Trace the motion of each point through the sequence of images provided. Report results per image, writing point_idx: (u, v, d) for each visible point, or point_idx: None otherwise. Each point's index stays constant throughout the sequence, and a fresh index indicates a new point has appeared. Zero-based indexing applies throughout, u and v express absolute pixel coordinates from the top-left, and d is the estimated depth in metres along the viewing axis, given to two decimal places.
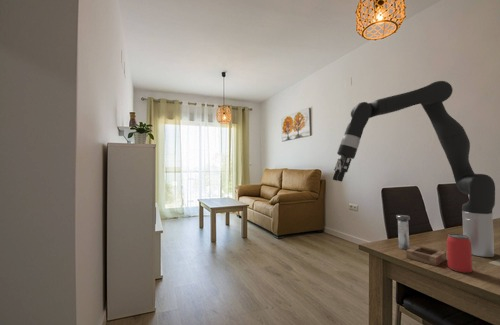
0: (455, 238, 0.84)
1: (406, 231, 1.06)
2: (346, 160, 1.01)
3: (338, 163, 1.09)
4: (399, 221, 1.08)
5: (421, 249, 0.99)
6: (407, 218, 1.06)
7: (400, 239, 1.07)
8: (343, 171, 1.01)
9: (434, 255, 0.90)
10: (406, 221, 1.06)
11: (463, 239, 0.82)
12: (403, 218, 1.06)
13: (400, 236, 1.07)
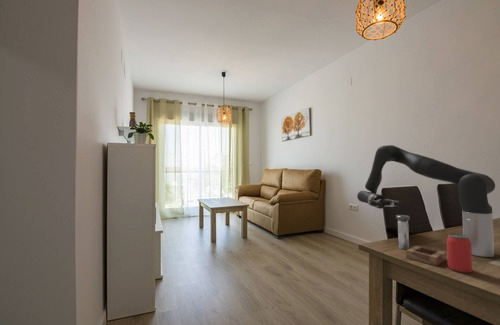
0: (455, 238, 0.84)
1: (406, 231, 1.06)
2: (369, 203, 1.29)
3: (387, 205, 1.27)
4: (399, 221, 1.08)
5: (421, 249, 0.99)
6: (407, 218, 1.06)
7: (400, 239, 1.07)
8: (374, 204, 1.24)
9: (434, 255, 0.90)
10: (406, 221, 1.06)
11: (463, 239, 0.82)
12: (403, 218, 1.06)
13: (400, 236, 1.07)
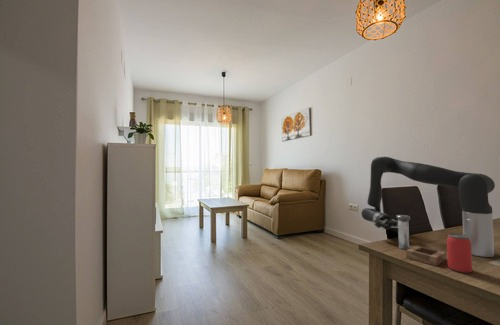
0: (455, 238, 0.84)
1: (406, 231, 1.06)
2: (374, 224, 1.23)
3: (393, 226, 1.20)
4: (399, 221, 1.08)
5: (421, 249, 0.99)
6: (407, 218, 1.06)
7: (400, 239, 1.07)
8: (379, 225, 1.18)
9: (434, 255, 0.90)
10: (406, 221, 1.06)
11: (463, 239, 0.82)
12: (403, 218, 1.06)
13: (400, 236, 1.07)
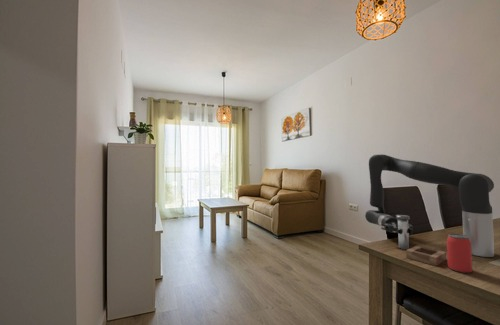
0: (455, 238, 0.84)
1: (406, 231, 1.06)
2: (382, 228, 1.14)
3: None
4: (399, 221, 1.08)
5: (421, 249, 0.99)
6: (407, 218, 1.06)
7: (400, 239, 1.07)
8: (391, 229, 1.10)
9: (434, 255, 0.90)
10: (406, 221, 1.06)
11: (463, 239, 0.82)
12: (403, 218, 1.06)
13: (400, 236, 1.07)
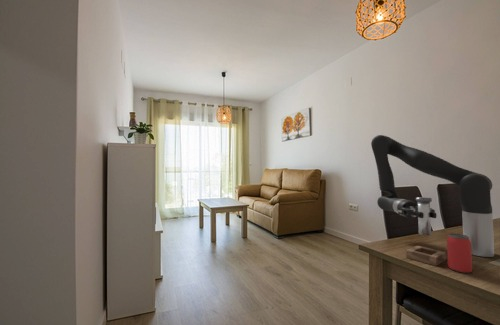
0: (455, 238, 0.84)
1: (428, 215, 0.94)
2: (399, 212, 1.02)
3: None
4: (419, 204, 0.95)
5: (421, 249, 0.99)
6: (429, 200, 0.93)
7: (421, 224, 0.95)
8: (410, 213, 0.98)
9: (434, 255, 0.90)
10: (428, 203, 0.94)
11: (463, 239, 0.82)
12: (424, 200, 0.94)
13: (421, 220, 0.95)
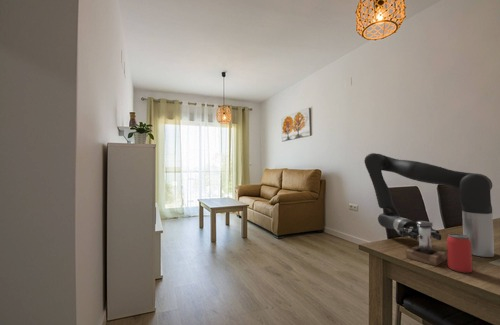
0: (455, 238, 0.84)
1: (429, 240, 0.93)
2: (398, 232, 1.03)
3: None
4: (420, 228, 0.95)
5: None
6: (430, 225, 0.93)
7: (422, 249, 0.95)
8: (405, 234, 0.98)
9: (434, 255, 0.90)
10: (429, 228, 0.94)
11: (463, 239, 0.82)
12: (425, 225, 0.93)
13: (422, 245, 0.95)
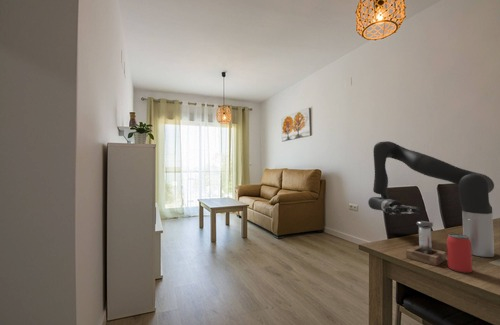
0: (455, 238, 0.84)
1: (429, 239, 0.93)
2: (384, 210, 1.17)
3: (403, 212, 1.15)
4: (420, 228, 0.95)
5: None
6: (430, 225, 0.93)
7: (422, 248, 0.95)
8: (389, 211, 1.12)
9: (434, 255, 0.90)
10: (429, 228, 0.94)
11: (463, 239, 0.82)
12: (425, 225, 0.93)
13: (422, 245, 0.95)
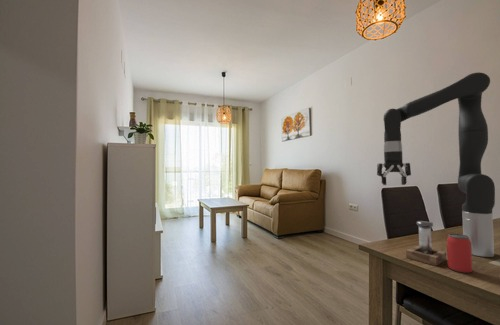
0: (455, 238, 0.84)
1: (429, 240, 0.93)
2: (377, 166, 1.16)
3: None
4: (420, 228, 0.95)
5: None
6: (430, 225, 0.93)
7: (422, 248, 0.95)
8: (379, 175, 1.16)
9: (434, 255, 0.90)
10: (429, 228, 0.94)
11: (463, 239, 0.82)
12: (425, 225, 0.93)
13: (422, 245, 0.95)
